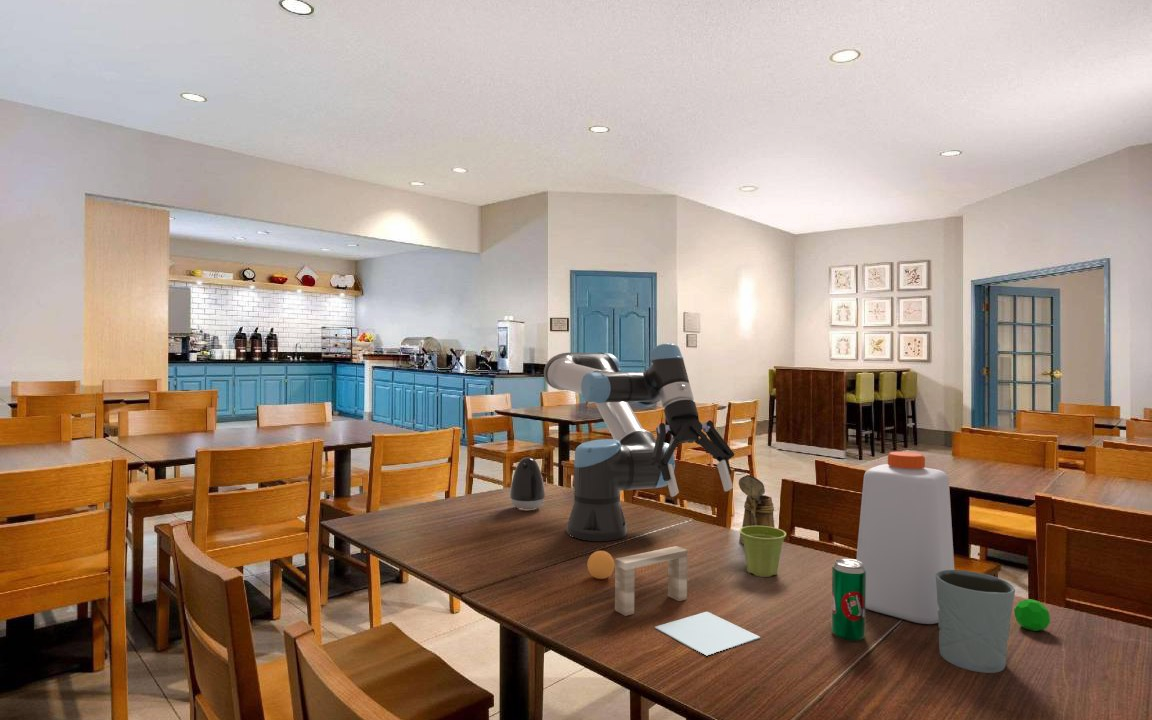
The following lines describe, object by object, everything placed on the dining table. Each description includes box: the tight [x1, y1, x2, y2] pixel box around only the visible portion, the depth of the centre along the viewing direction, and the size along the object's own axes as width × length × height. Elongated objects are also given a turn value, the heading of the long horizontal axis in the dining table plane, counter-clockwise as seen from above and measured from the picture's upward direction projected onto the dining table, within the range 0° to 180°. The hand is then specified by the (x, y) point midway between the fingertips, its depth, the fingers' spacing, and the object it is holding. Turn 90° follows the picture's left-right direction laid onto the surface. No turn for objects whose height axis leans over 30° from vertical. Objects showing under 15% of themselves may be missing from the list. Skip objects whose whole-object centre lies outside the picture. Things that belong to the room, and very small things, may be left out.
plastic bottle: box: [855, 451, 955, 625], centre depth 117 cm, size 15×15×28 cm
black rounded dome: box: [509, 457, 546, 509], centre depth 187 cm, size 10×10×15 cm
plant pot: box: [739, 526, 787, 578], centre depth 135 cm, size 9×9×9 cm
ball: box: [586, 550, 615, 580], centre depth 130 cm, size 6×6×6 cm
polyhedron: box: [1013, 598, 1051, 632], centre depth 108 cm, size 5×5×5 cm
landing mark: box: [654, 611, 761, 657], centre depth 105 cm, size 12×12×1 cm
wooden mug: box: [738, 474, 776, 545], centre depth 154 cm, size 9×14×18 cm, turn 148°
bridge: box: [614, 545, 688, 617], centre depth 117 cm, size 3×14×9 cm, turn 123°
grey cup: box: [936, 569, 1016, 674], centre depth 97 cm, size 10×10×12 cm
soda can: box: [830, 558, 866, 642], centre depth 105 cm, size 5×5×12 cm
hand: (702, 492), depth 142 cm, fingers open, 13 cm apart
